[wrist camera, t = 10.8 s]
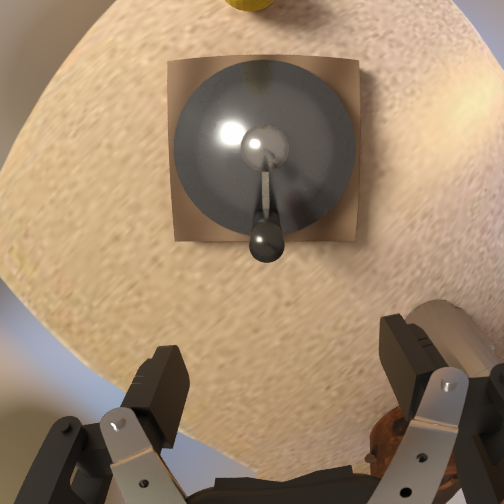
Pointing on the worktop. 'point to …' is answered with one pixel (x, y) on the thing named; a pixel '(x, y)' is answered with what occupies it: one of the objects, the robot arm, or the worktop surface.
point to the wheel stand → (200, 69)
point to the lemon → (249, 4)
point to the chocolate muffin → (386, 444)
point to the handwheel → (264, 151)
